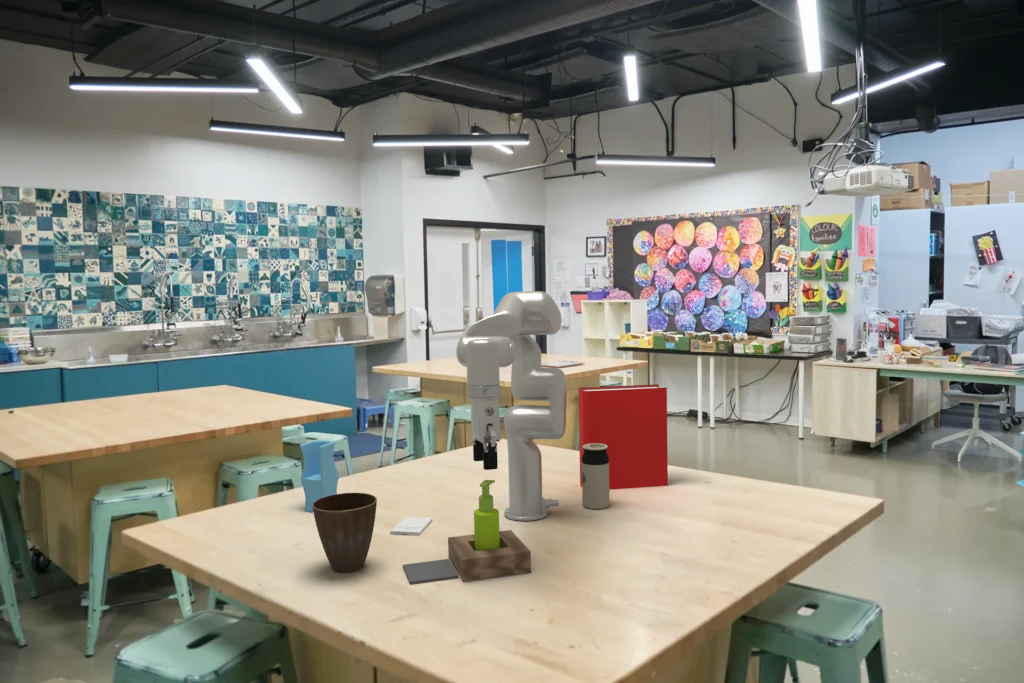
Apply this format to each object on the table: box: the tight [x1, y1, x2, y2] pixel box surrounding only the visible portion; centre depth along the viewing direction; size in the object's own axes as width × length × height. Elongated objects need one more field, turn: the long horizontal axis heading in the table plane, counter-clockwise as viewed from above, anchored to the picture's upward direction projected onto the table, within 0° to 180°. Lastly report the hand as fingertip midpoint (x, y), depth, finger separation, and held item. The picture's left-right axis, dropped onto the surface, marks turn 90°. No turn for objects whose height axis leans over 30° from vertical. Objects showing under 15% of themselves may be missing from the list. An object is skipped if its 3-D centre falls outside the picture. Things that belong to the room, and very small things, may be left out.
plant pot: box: [312, 492, 378, 574], centre depth 180 cm, size 15×15×16 cm
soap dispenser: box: [473, 479, 500, 551], centre depth 179 cm, size 6×7×20 cm
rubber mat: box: [402, 558, 459, 585], centre depth 176 cm, size 11×11×1 cm
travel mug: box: [581, 443, 611, 510], centre depth 224 cm, size 8×8×18 cm
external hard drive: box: [389, 516, 434, 537], centre depth 209 cm, size 2×8×12 cm
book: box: [578, 383, 669, 491], centre depth 246 cm, size 27×8×32 cm, turn 98°
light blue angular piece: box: [299, 439, 340, 513], centre depth 228 cm, size 8×8×20 cm
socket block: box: [447, 529, 532, 582], centre depth 179 cm, size 16×16×5 cm
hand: (485, 464), depth 177 cm, fingers open, 9 cm apart
